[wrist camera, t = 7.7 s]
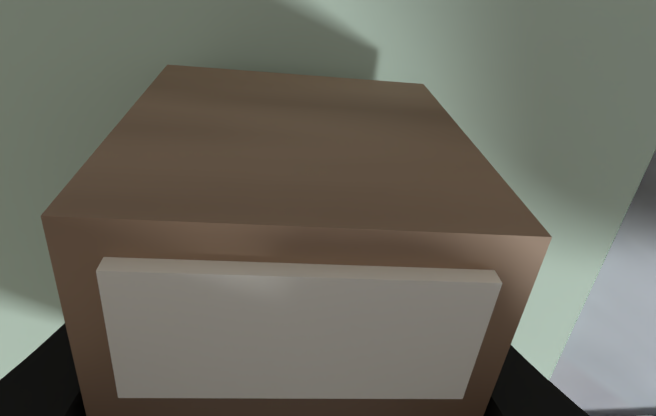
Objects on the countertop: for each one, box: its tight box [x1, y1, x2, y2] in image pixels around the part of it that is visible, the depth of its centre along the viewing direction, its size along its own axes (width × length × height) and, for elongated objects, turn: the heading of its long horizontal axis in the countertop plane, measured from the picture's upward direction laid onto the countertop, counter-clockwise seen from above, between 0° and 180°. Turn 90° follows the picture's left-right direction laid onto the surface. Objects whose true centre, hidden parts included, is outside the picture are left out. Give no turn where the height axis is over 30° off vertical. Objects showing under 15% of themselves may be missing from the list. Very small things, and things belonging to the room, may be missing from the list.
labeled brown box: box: [41, 65, 552, 416], centre depth 8 cm, size 8×4×5 cm, turn 175°
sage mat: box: [0, 0, 656, 380], centre depth 12 cm, size 16×14×1 cm
